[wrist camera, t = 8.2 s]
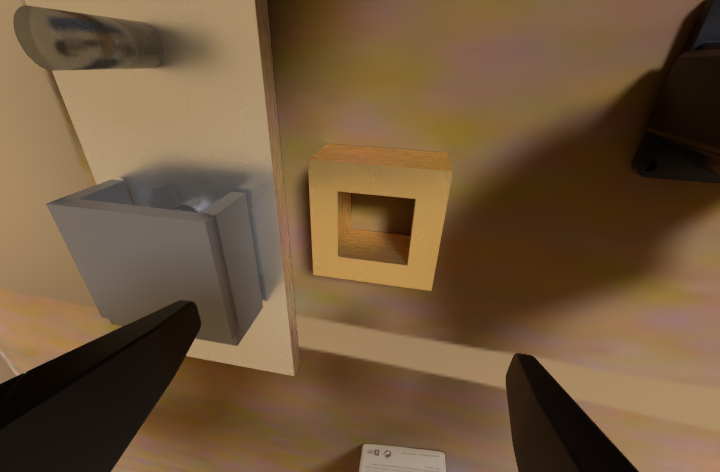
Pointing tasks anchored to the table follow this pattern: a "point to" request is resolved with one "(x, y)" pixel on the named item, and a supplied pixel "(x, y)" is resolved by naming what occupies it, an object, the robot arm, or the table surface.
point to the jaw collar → (368, 248)
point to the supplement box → (400, 459)
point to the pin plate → (181, 126)
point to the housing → (164, 258)
